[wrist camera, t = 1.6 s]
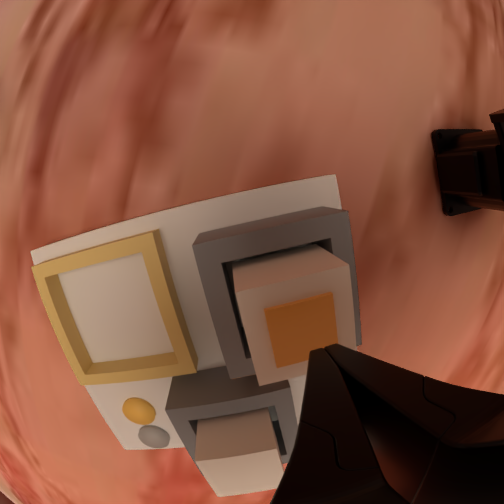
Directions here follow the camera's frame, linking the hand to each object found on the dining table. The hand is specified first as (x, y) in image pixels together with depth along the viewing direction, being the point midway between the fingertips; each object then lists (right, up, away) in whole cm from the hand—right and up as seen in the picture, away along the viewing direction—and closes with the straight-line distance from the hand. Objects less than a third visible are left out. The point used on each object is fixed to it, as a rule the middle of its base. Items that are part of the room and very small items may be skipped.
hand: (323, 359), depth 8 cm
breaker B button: (-3, -7, +8) cm, 11 cm away
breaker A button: (-1, +1, +6) cm, 6 cm away
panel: (-5, -2, +11) cm, 12 cm away
